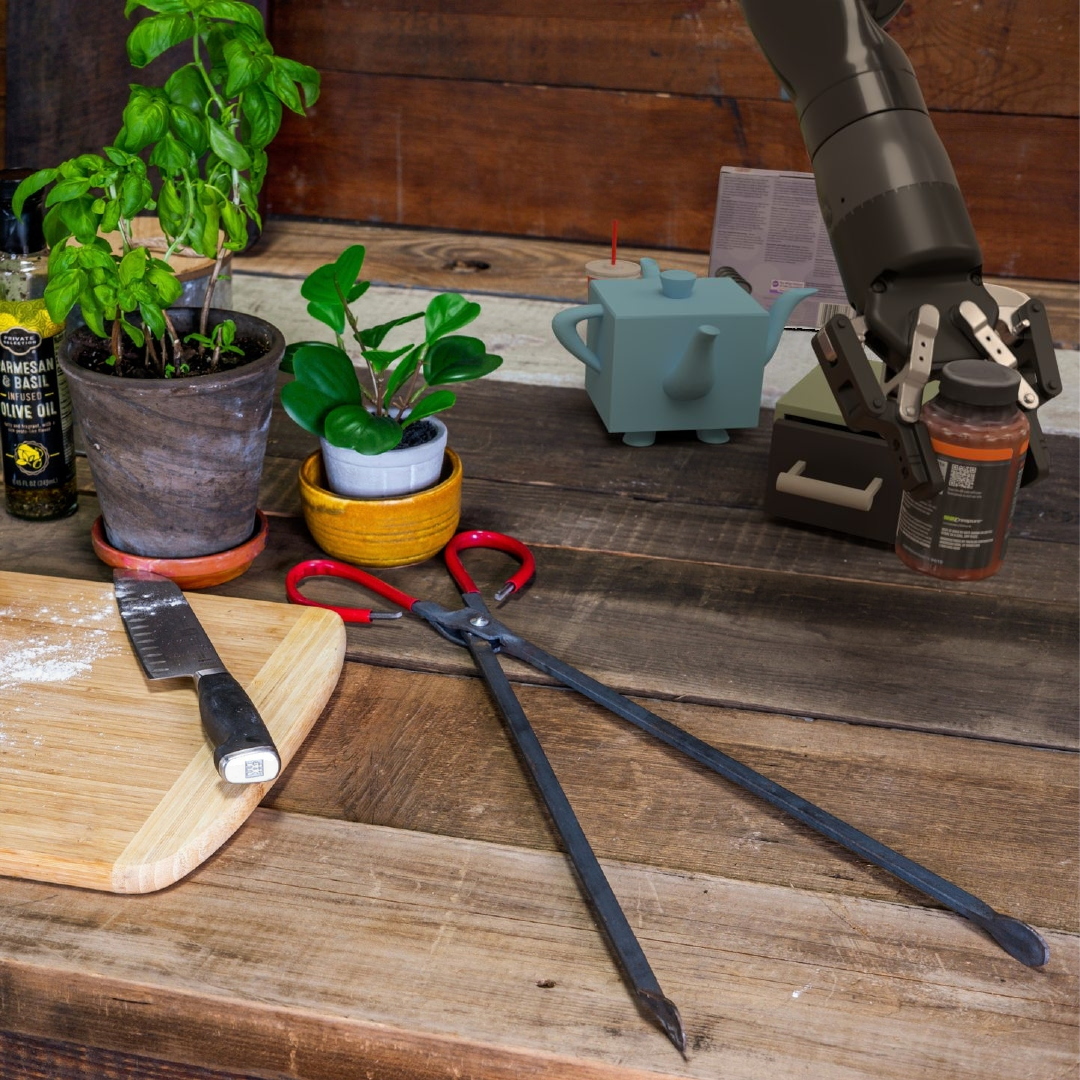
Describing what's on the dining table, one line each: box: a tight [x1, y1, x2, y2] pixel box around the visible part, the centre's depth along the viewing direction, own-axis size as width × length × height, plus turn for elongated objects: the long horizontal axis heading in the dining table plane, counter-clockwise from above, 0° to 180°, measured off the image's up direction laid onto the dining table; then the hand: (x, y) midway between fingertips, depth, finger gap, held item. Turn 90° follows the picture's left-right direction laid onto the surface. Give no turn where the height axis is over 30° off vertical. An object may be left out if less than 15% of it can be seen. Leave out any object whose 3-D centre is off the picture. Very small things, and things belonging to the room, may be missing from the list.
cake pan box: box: [707, 165, 856, 328], centre depth 146 cm, size 19×5×18 cm, turn 80°
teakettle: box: [551, 256, 819, 447], centre depth 117 cm, size 19×19×15 cm
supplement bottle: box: [894, 360, 1030, 583], centre depth 68 cm, size 6×6×11 cm
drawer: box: [762, 416, 904, 545], centre depth 100 cm, size 18×11×8 cm, turn 151°
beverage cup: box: [584, 219, 642, 298], centre depth 138 cm, size 6×6×14 cm
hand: (982, 488), depth 67 cm, fingers closed on supplement bottle, 6 cm apart
